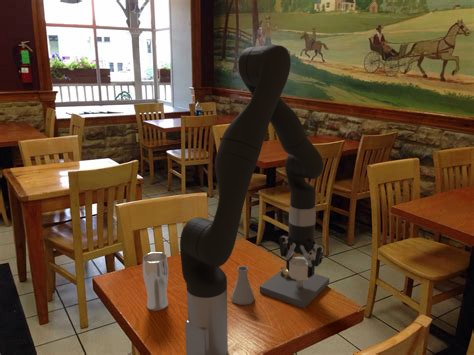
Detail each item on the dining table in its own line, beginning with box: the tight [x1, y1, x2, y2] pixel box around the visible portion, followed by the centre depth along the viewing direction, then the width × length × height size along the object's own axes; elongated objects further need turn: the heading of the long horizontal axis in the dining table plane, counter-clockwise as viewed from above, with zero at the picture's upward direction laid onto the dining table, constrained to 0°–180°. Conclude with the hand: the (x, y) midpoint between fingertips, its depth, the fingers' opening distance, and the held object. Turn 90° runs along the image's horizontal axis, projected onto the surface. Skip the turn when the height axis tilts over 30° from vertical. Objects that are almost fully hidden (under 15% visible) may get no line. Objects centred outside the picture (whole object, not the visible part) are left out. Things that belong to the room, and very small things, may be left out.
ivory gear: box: [289, 256, 309, 280], centre depth 121 cm, size 6×6×4 cm
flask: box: [230, 265, 256, 306], centre depth 119 cm, size 7×7×10 cm
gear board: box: [259, 270, 330, 309], centre depth 126 cm, size 17×15×6 cm
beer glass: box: [142, 251, 169, 312], centre depth 116 cm, size 7×7×15 cm
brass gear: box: [279, 265, 296, 280], centre depth 131 cm, size 8×8×3 cm
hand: (300, 273), depth 122 cm, fingers closed on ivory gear, 6 cm apart
